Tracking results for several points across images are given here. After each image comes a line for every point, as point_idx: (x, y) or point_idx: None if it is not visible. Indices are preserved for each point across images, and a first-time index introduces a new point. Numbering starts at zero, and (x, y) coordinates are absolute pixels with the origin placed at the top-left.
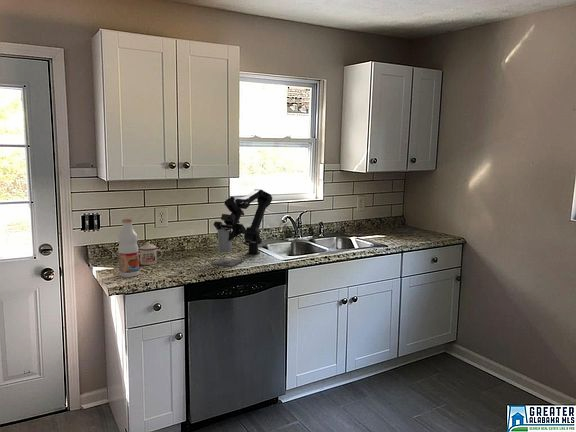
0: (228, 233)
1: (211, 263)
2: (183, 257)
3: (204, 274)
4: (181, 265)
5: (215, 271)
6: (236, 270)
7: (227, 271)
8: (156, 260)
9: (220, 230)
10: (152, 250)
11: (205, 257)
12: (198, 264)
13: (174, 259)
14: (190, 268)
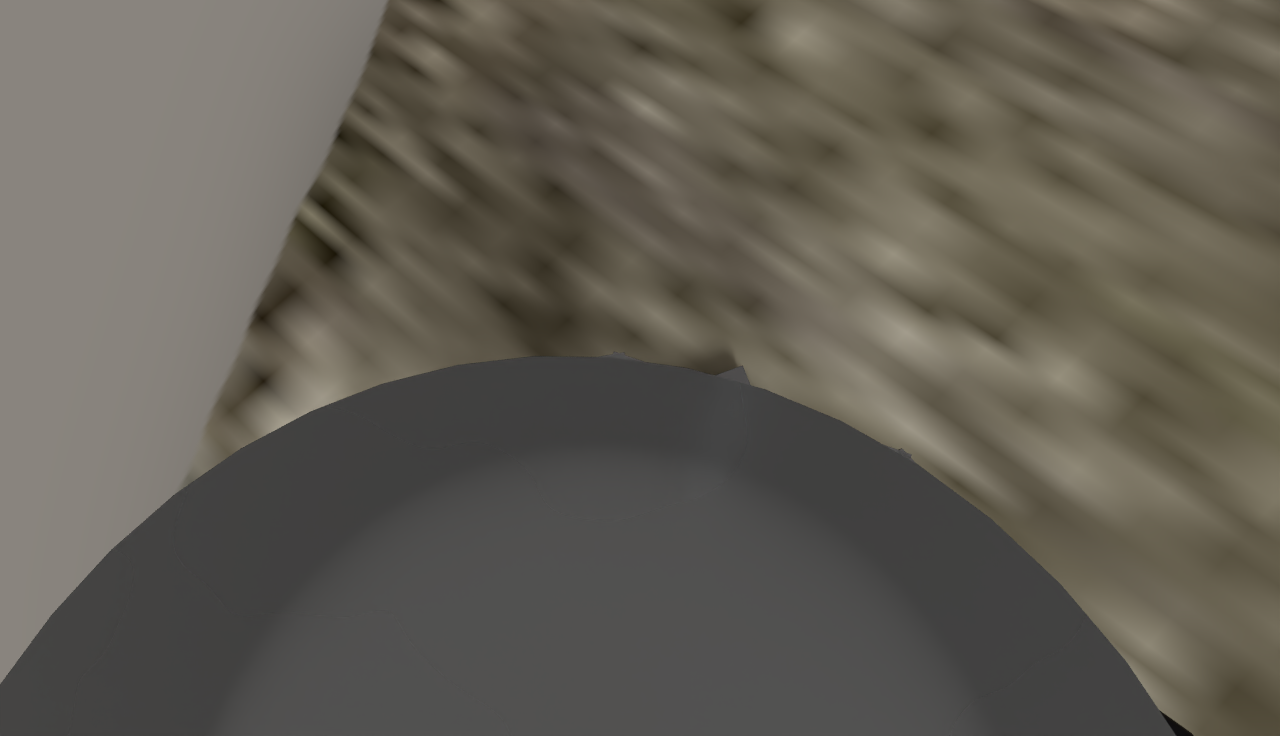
0: None
1: (736, 369)
2: None
3: (407, 18)
4: (1004, 54)
5: (404, 186)
6: (215, 415)
7: (280, 294)
8: None
9: (508, 424)
10: None
11: (1266, 638)
12: (889, 248)
13: None
14: (771, 52)
